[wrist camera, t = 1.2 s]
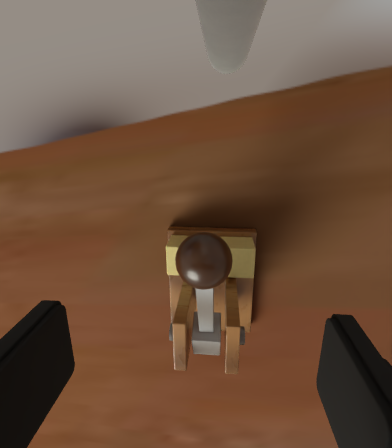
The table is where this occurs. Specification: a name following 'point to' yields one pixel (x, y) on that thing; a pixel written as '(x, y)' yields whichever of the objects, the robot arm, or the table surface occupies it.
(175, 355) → the wooden toy catapult
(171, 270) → the butter
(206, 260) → the ball knob on post
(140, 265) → the table surface
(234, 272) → the butter
